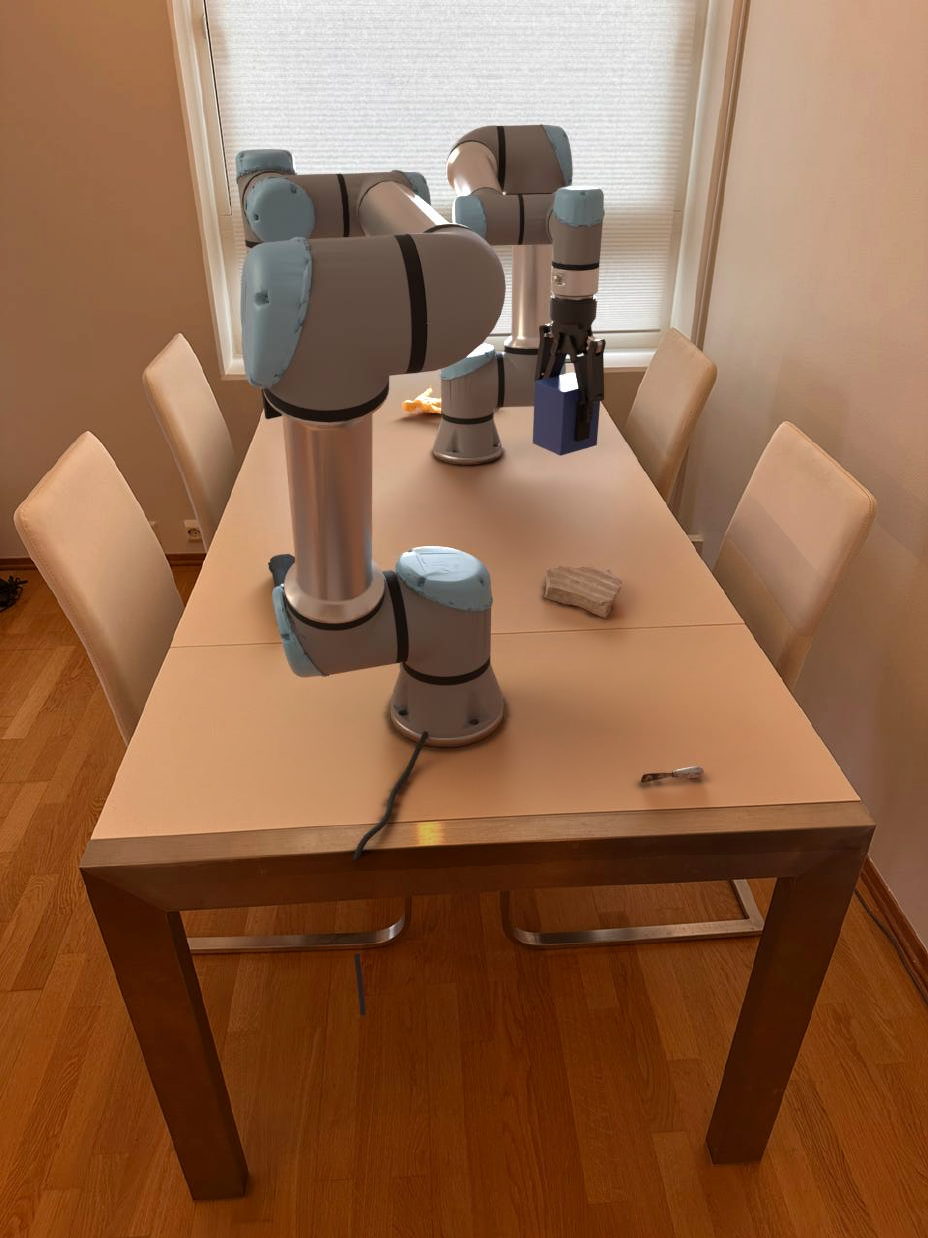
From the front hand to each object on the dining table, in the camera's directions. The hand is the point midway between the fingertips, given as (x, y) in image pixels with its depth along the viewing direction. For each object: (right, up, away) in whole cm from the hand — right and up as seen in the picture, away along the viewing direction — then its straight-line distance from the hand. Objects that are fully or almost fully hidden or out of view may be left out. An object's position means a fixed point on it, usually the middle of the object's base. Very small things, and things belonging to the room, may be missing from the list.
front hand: (294, 429), depth 132 cm
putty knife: (+50, -48, -22) cm, 73 cm away
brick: (+43, +2, +23) cm, 49 cm away
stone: (+45, -25, +15) cm, 53 cm away
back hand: (+43, +4, +22) cm, 48 cm away
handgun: (-1, -23, +17) cm, 29 cm away
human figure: (+22, +25, +94) cm, 100 cm away
